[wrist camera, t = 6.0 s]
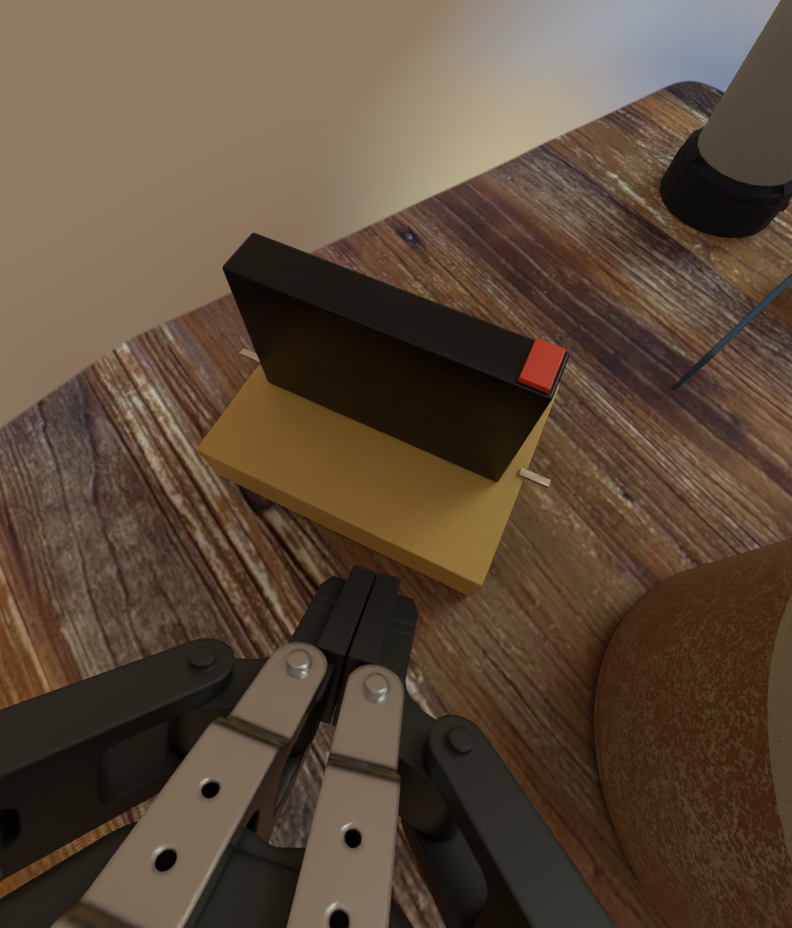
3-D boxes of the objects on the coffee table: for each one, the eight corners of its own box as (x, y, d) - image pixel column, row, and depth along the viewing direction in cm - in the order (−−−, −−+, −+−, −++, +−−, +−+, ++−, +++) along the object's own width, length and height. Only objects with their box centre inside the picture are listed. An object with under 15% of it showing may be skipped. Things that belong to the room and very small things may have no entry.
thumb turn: (267, 382, 22) (218, 260, 15) (288, 352, 23) (250, 224, 16) (497, 483, 20) (555, 396, 13) (512, 447, 21) (573, 347, 14)
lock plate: (199, 466, 23) (173, 438, 20) (306, 318, 27) (297, 277, 25) (491, 607, 21) (508, 598, 18) (559, 421, 25) (583, 390, 22)
